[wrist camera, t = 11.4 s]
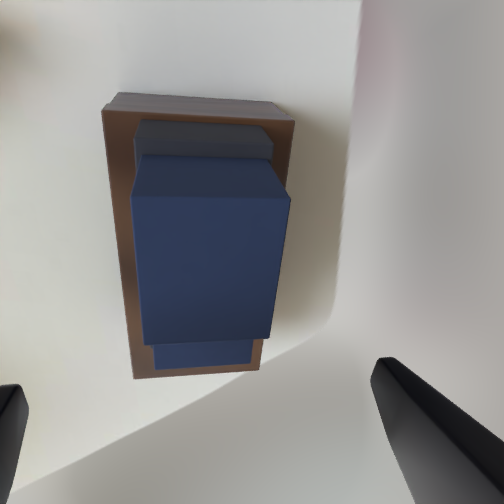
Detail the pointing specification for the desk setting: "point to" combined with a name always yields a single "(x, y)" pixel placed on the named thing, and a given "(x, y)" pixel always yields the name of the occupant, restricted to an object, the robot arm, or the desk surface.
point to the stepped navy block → (206, 240)
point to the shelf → (122, 179)
